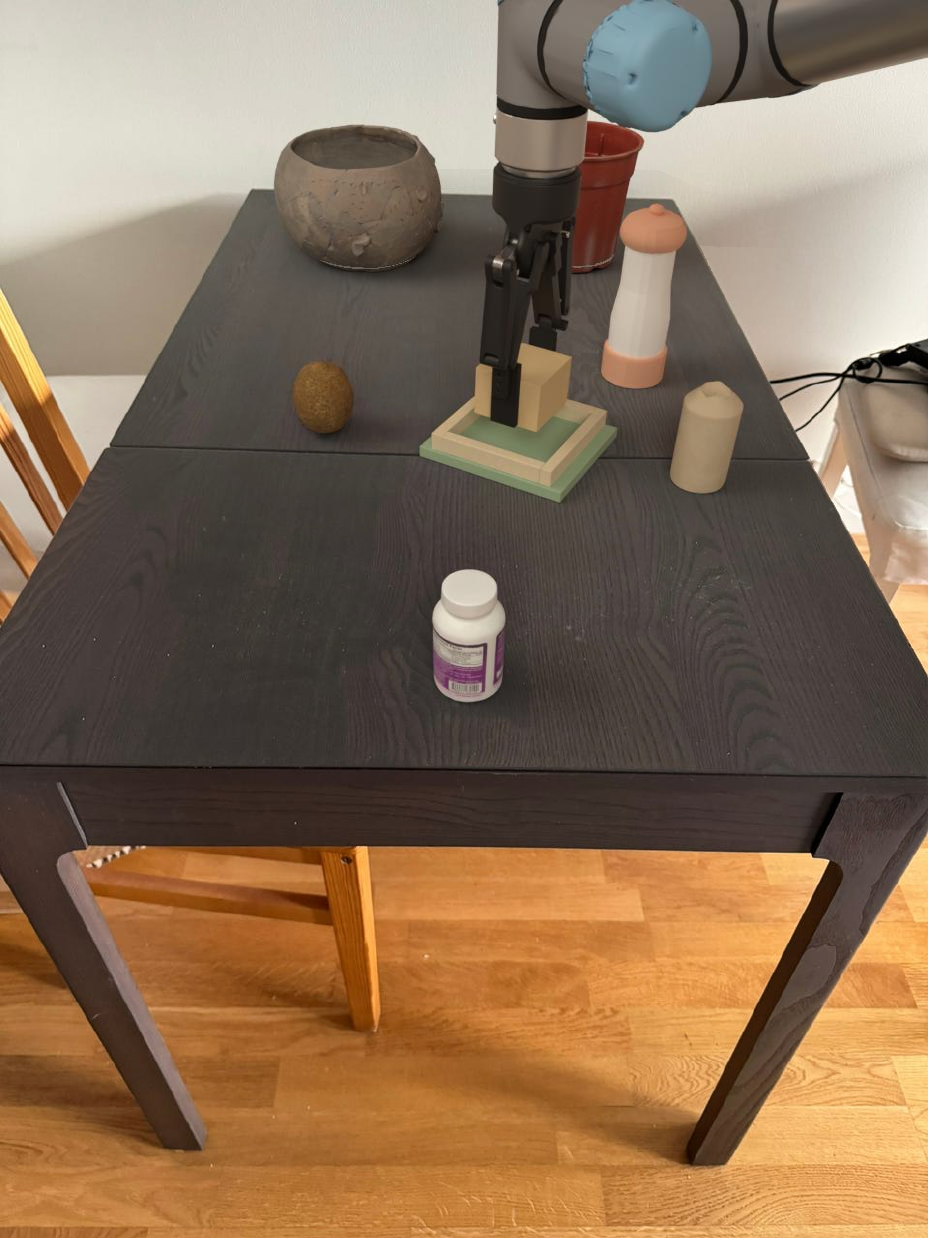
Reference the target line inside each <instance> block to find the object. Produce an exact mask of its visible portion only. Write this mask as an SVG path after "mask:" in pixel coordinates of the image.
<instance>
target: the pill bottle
mask: <svg viewBox="0 0 928 1238" xmlns="http://www.w3.org/2000/svg"><path fill="white" fill-rule="evenodd" d="M440 590H441V593H440V599H439V600H438V601H437V602H436V604H435V606H434V608H433V611H432V618H431V622H432V660H433V661H432V663H433V664H432V665H433V679H434V683H435V685H436V687H437V689H438V690H439V691H440V693H442V695H444V697H447V698H449V699H451V700H453V701H455V702H461V703H473V702H475V703H476V702H480V701H484V700H486V699H488V698H490V697H491V696H493V695H494V694H495V693H496V692H497V691H498V690H499V688H500V687H501V685H502V682H503V676H504V675H503V674H504V659H505V641H506V621H507V620H506V613H505V609H504V607H503V605H502V603H501V601H500V600H498V584H497V582H496V581H495V579H494V578H493V577H492V576H491V575H490V574H489V573H487V572H485V571H482V570H478V569H472V568H471V569H467V568H466V569H460V570H457V571H455V572H452V573H450V574H448V575H447V576H446V577H445V578H444V579H443V580H442V583H441V589H440Z"/></svg>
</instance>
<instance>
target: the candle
mask: <svg viewBox="0 0 928 1238" xmlns="http://www.w3.org/2000/svg"><path fill="white" fill-rule="evenodd" d="M743 412H744V403H743V401H742V399H741V398H740V397H739V396H738V395H737V394H736V393H735V392H734V391H733V390H732V389H731V388H730V387H729V386H727V385H725V384H724V383H723V382H722V381H708V382H704V383H703V384H701V385H700V386H698V387H696V388H694V389H693V390H690V391H689V392H688V393H687V394H686V395H685V396H684V399H683V403H682V408H681V413H680V418H679V423H678V428H677V433H676V439H675V443H674V448H673V454H672V459H671V464H670V470H669V478H670V480H671V482H672V483H673V484H674V485H675V486H677V487H678V488H679V489H682V490H683V491H686V492H689V493H695V494H709V493H715V492H717V491H719V490H720V489H721V488H723V486H724V485H725V482H726V479H727V476H728V471H729V467H730V463H731V460H732V456H733V452H734V448H735V443H736V439H737V435H738V431H739V428H740V423H741V419H742V415H743Z"/></svg>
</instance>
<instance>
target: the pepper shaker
mask: <svg viewBox="0 0 928 1238" xmlns="http://www.w3.org/2000/svg"><path fill="white" fill-rule="evenodd" d="M622 220H623V221H622V222H621V225H620V230H619V235H620V236H619V237H620V240H621V242H622V243H623V245H624V246H625V247H624V252H623V253H624V254H623V261H622V267H621V273H620V280H619V281H620V282H619V285H618V289H617V292H616V296H615V299H614V303H613V305H612V310H611V314H610V318H609V329H608V337H607V339H606V340H605V341H604V345H603V351H602V358H601V359H602V360H601V368H600V373H601V376H602V377H603V378H604V379H605V380H606V381H607V382H609V383H611V384H613V385H615V386H618V387H621V388H627V389H636V390H637V389H647V388H652V387H654V386H656V385H658V384H660V383H661V382H662V381H663V378H664V374H665V373H664V372H665V368H666V367H665V366H666V360H667V356H668V350H669V349H668V346H667V344H666V341H667V337H668V332H669V326H670V322H671V289H672V286H671V285H672V278H673V273H674V266H675V261H676V255H677V254H676V253H677V251H678V250H679V249H680V248H681V247H682V246H683V245H684V243H685V241H686V239H687V235H688V230H687V225H686V223H685V221H684V219H683V218H682V216H680V215H678V214H677V213H675V212H674V211H671V210H669V209H667V208H665V206H664V205H662V204H660V203H653V204H651V205H650V206H649V207H644V208H641V209H640V208H639V209H637V210H633V211H631V212H629V213H628V214H627V215H626V216H625V218H624V219H622Z"/></svg>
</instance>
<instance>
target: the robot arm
mask: <svg viewBox="0 0 928 1238" xmlns="http://www.w3.org/2000/svg"><path fill="white" fill-rule="evenodd" d="M497 7H498V8H497V9H498V11H497V44H496V45H497V47H496V49H497V51H496V52H497V53H496V91H495V93H496V105H495V106H496V108H495V109H496V110H495V113H494V114H493V116H492V123H493V124H494V125H495V133H494V134H495V135H494V157H495V159H496V160H497V161H498V162H497V163H496V164H495V165H494V167H493V170H492V194H491V196H492V197H491V198H492V199H491V200H492V201H491V204H492V205H491V206H492V209H493V211H494V212H495V213H496V214H497V215H498V216H499V217H501V218H502V220H503V221H504V223H505V229H504V230H505V231H504V235H503V239H502V245H501V246H502V250H501V252H500V253H498V255H495V254H491V253H489V254H487V256H486V257H485V259H484V274H485V275H484V276H485V291H484V302H483V305H484V306H483V315H482V325H481V337H480V348H479V357H478V358H479V359H478V360H479V364H483V365H487V366H490V367H492V387H491V411H490V421H493V422H496V423H500V424H503V425H506V426H509V427H512V428H515V427H516V426H517V425H518V413H519V397H520V382H521V368H522V364H521V363H517V360H518V355H519V351H520V346H521V343H522V341H523V336H524V332H525V327H526V323H527V317H528V313H529V308H530V303H532V304H531V305H532V312H533V318H534V324H535V325H538V326H535V325H532V326H531V327H530V328H529V332H528V345H532V346H535V347H539V348H542V349H546V350H550V351H553V352H557V342H558V331H562V332H565V331H567V329H568V328H569V322H570V321H569V320H567V319H564V318H562V317H567V316H568V315H569V313H570V311H571V310H570V309H571V293H572V292H571V291H572V274H573V273H572V253H573V239H574V233H575V228H576V222H577V217H576V216H574V215H575V214H576V212H577V211H578V207H579V197H580V187H581V177H582V172H581V170H580V168H579V166H578V165H579V164H580V163H581V162H582V161H583V160H584V152H585V141H586V129H587V121H588V117H589V111H592V113H593V112H594V113H595V114H598V115H599V116H601V118H604V119H606V120H607V121H608V122H609V123H610V124H616V125H619V126H621V127H625V128H628V129H634V130H637V131H640V132H645V133H659V132H665V131H668V130H670V129H672V128H674V127H675V126H676V125H677V124H678V123H679V122H680V121H682V120H683V119H684V118H685V117H687V116H689V115H690V114H691V113H692V112H693V111H694V110H695V109H697V108H705V107H710V106H715V105H719V104H725V103H726V104H727V103H734V102H742V101H750V100H759V99H767V98H768V99H778V98H784V97H789V96H794V95H798V94H799V93H803V92H805V91H810V90H811V89H814V88H816V87H818V86H819V85H821V84H824V83H827V82H831V81H832V82H833V81H836V80H840V79H844V78H848V77H853V76H857V75H861V74H865V73H869V72H873V71H878V70H882V69H886V68H891V67H895V66H899V65H904V64H907V63H911V62H916V61H919V60H923V59H928V0H497ZM518 278H521V279H525V281H524V280H521V279H518ZM526 280H528V281H526Z"/></svg>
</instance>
